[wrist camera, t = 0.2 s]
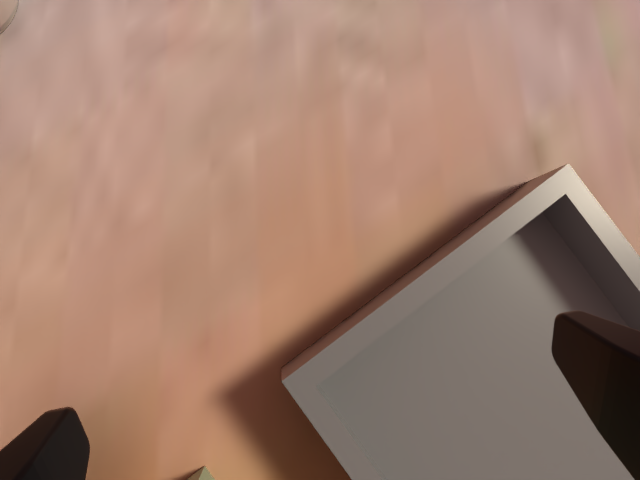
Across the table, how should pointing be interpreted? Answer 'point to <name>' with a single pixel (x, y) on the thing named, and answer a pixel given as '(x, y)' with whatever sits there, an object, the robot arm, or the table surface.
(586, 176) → the table surface
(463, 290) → the bin
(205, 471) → the green block
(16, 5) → the energy drink can
